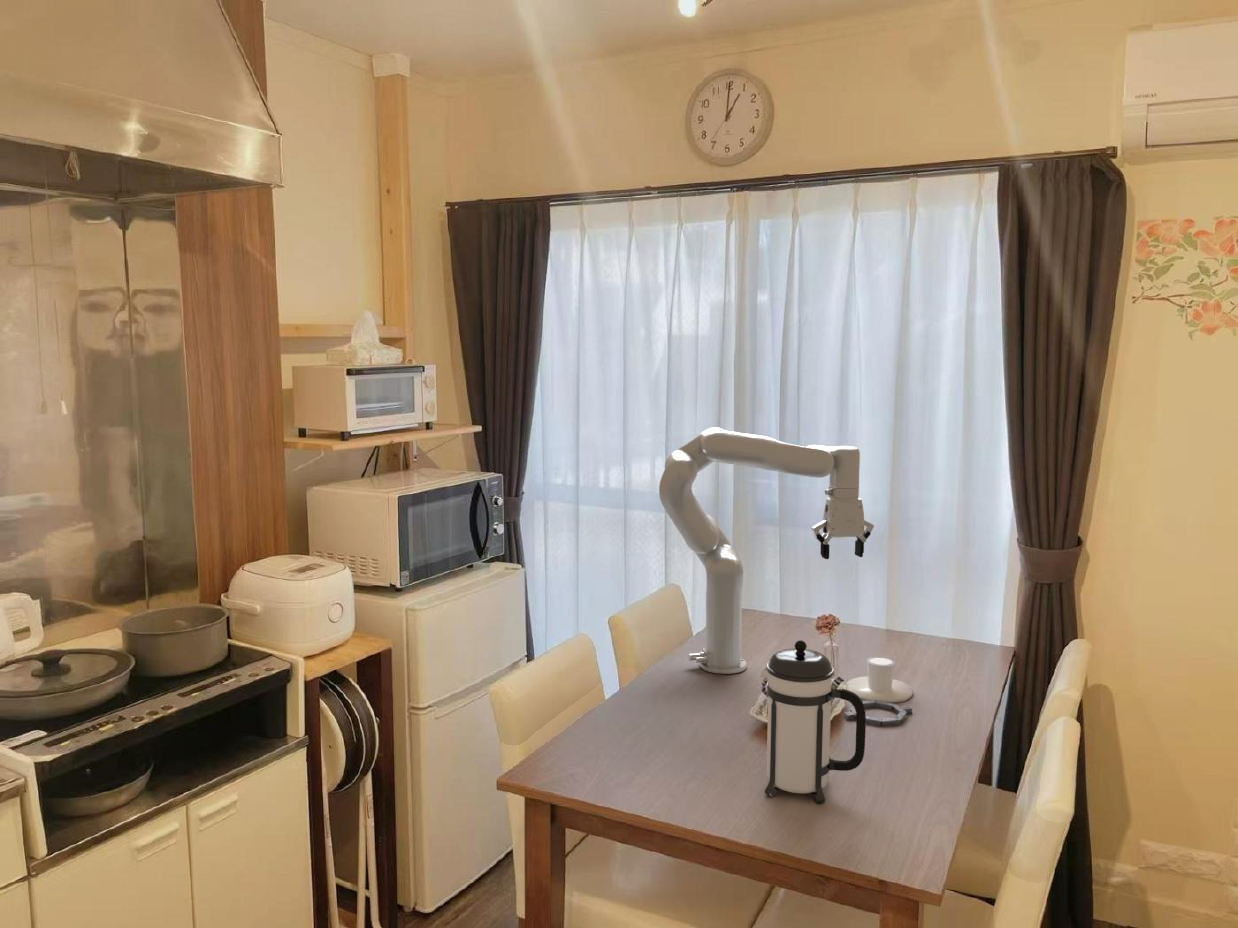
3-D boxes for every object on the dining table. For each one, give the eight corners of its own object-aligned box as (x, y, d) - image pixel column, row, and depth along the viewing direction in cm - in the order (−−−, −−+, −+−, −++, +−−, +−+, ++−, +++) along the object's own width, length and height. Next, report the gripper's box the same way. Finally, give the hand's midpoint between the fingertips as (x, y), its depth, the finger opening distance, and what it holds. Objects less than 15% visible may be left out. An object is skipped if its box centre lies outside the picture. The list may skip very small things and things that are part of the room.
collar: (858, 728, 211) (858, 723, 211) (833, 708, 223) (834, 704, 223) (923, 721, 215) (924, 716, 215) (896, 702, 227) (896, 697, 226)
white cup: (896, 693, 230) (897, 666, 229) (867, 692, 231) (868, 664, 230) (892, 683, 237) (893, 656, 236) (864, 682, 238) (865, 655, 237)
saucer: (865, 705, 225) (865, 702, 224) (835, 682, 240) (835, 679, 240) (925, 699, 228) (925, 696, 228) (891, 676, 244) (891, 673, 244)
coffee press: (789, 815, 173) (793, 659, 169) (744, 778, 187) (747, 634, 183) (865, 797, 180) (870, 646, 176) (816, 763, 194) (820, 623, 190)
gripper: (819, 497, 239) (818, 562, 241) (881, 494, 243) (878, 558, 245) (807, 492, 246) (805, 555, 249) (866, 489, 250) (864, 552, 253)
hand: (842, 557), depth 247 cm, fingers open, 9 cm apart
